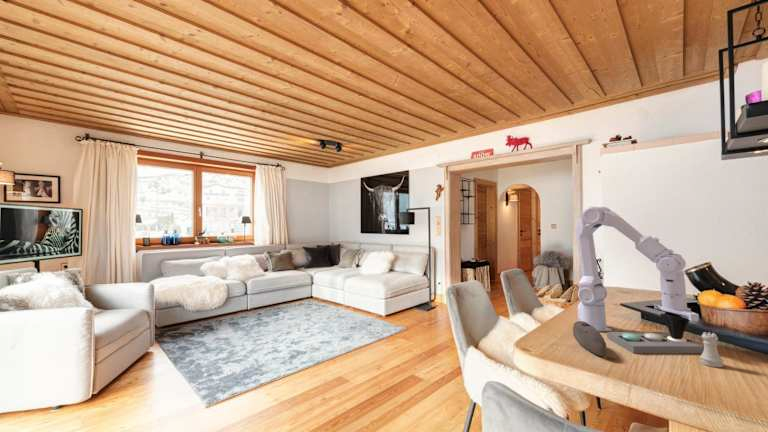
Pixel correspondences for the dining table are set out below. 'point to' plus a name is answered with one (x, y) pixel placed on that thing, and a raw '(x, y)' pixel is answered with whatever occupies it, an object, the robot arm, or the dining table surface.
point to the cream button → (677, 339)
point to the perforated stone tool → (589, 338)
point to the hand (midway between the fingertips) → (676, 338)
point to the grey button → (653, 337)
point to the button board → (656, 344)
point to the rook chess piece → (711, 351)
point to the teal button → (631, 337)
